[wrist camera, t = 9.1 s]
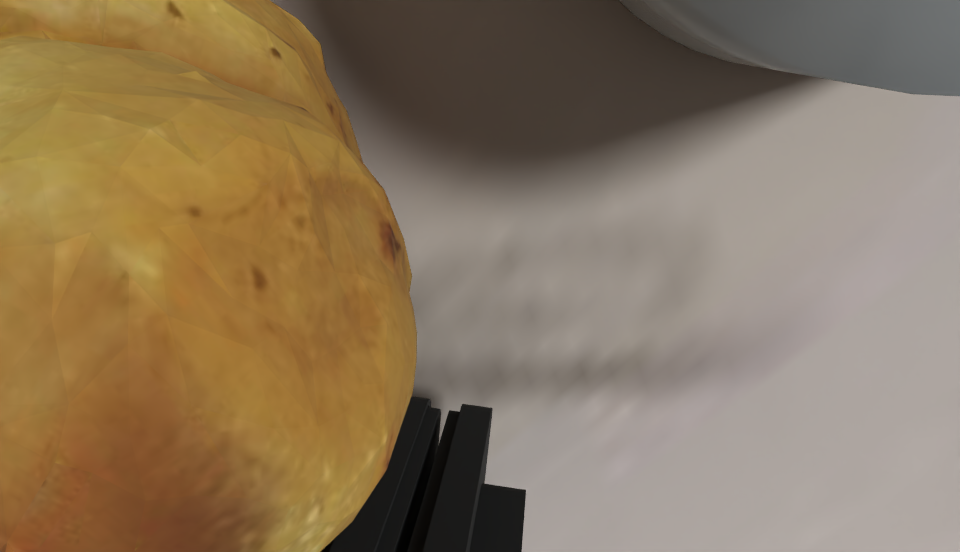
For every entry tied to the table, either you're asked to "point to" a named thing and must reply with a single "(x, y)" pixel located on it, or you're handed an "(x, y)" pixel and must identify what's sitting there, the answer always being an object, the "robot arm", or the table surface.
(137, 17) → the bread roll
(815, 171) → the table surface
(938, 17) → the grey glossy rounded piece
